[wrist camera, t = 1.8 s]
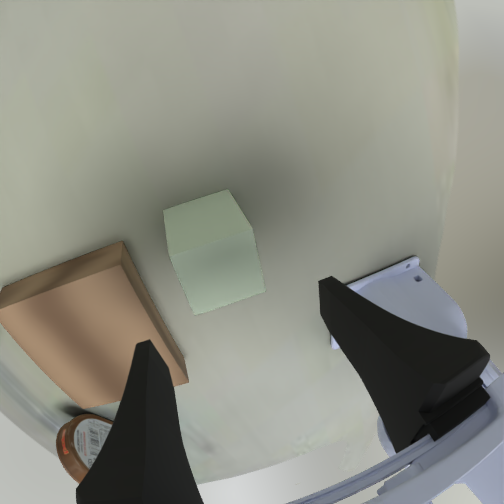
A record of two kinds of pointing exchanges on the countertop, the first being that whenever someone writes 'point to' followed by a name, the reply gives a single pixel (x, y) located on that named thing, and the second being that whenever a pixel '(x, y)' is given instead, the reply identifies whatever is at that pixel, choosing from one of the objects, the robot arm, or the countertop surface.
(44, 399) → the countertop surface
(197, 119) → the countertop surface
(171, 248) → the sage cube
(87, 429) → the tin
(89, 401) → the walnut block
